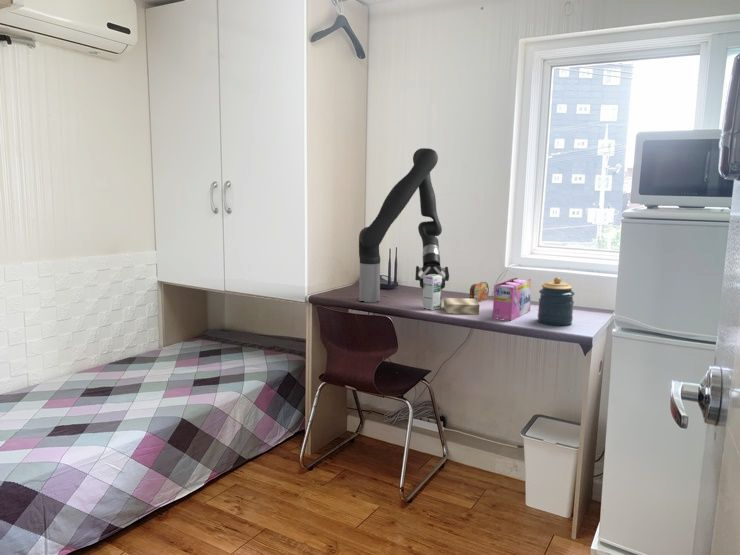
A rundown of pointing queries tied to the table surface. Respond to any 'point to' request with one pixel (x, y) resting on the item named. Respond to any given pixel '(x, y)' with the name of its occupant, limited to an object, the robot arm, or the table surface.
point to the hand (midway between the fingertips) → (432, 287)
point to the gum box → (511, 299)
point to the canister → (556, 303)
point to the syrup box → (432, 291)
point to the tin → (479, 291)
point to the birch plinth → (461, 306)
